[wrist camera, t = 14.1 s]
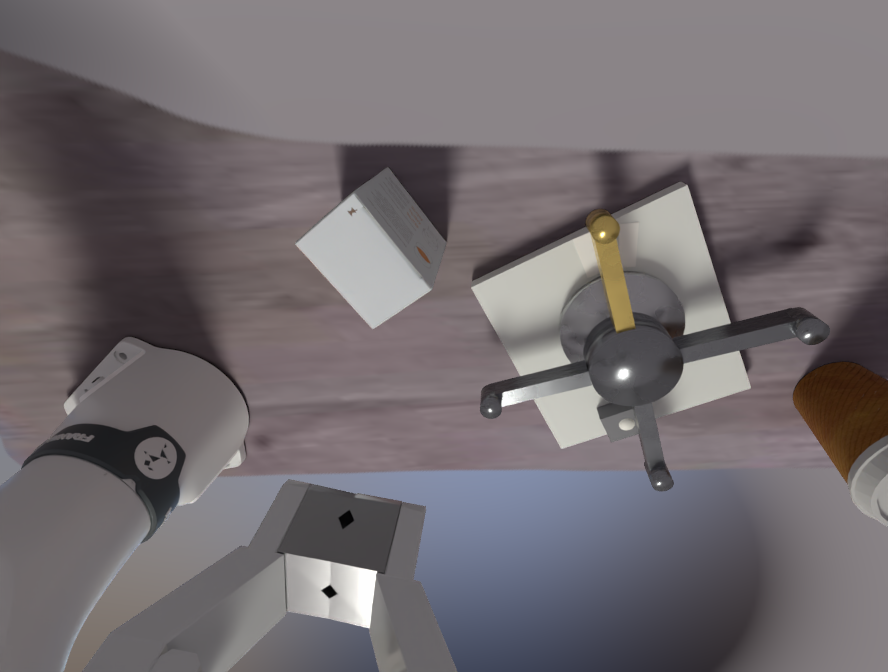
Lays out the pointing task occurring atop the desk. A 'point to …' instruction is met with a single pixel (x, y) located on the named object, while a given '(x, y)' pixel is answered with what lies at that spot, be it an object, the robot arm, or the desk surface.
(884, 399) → the disposable coffee cup
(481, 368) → the desk surface
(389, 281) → the small box
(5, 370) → the desk surface
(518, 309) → the stand
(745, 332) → the capstan
